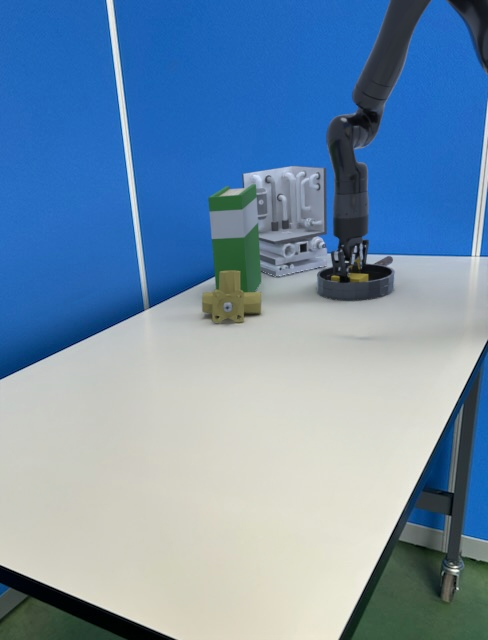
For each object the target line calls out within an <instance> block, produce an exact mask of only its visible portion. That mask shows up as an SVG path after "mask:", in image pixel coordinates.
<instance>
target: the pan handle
mask: <svg viewBox="0 0 488 640" xmlns="http://www.w3.org/2000/svg"><path fill="white" fill-rule="evenodd" d="M393 262H394V258H393V257H392V256H391V255H388V256H385V257H383V258H382V259H380V260H378V261H376V262H375V263H373V264H378V265H383V266H387V267H388V266H390V265H391V264H392V263H393Z"/></svg>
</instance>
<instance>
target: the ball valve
mask: <svg viewBox="0 0 488 640" xmlns="http://www.w3.org/2000/svg"><path fill="white" fill-rule="evenodd" d="M201 298H202V300H201V308H202V309H201V310H202V313H203V314H212V317H211V318H212V322H214V323H215V324H219V323H221V322H222V321H223V320H226V319H229V320H230V321H233V322H235V323H244V320H245V314H258V315H259V314H262V291H255V292H245V293H244V292H243V291H242V290H240V271H235V270H233V271H220V272H219V290H218V289H216V288H215V289H214V290H213V291H208V292H202V297H201ZM238 316H240V318H238Z"/></svg>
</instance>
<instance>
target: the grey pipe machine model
mask: <svg viewBox="0 0 488 640" xmlns="http://www.w3.org/2000/svg"><path fill="white" fill-rule="evenodd" d="M241 178H242V179H241V181H242V188H248V187H249V186H251V185H252V184H256V193H257V211H258V230H259V248H260V267H261V271H264V272H266V273H269V274H272V275H274V276H279V275H283V274H288V273H292V272H297V271H301V270H306V269H311V268H316V267H320V266H325V265H327V266H326V267H325V268H328V260H327V259H324V258H319V257H322V256H327V255H328V248H326V247H327V245H326V242H325V241H324V239H323V238H322V237H320V236H325V235H327V234H328V216H327V215H328V213H327V211H328V210H327V209H328V207H327V203H328V202H327V167H319V166H317V167H316V166H302V165H289V166H283V167H275V168H270V169H263V170H257V171H252V172H245V173H241ZM318 269H319V268H317V269H316V270H318ZM304 272H305V271H303V272H302V273H304ZM266 273H264V275H265V274H266ZM294 274H296V273H294ZM294 274H293V275H294ZM266 275H267V274H266ZM290 275H291V274H289V275H288V276H290ZM274 276H272V277H274ZM280 277H282V276H280ZM280 277H279V278H280ZM274 278H275V277H274Z"/></svg>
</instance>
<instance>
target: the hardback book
mask: <svg viewBox="0 0 488 640" xmlns="http://www.w3.org/2000/svg"><path fill="white" fill-rule="evenodd" d="M230 186H231V185H226V186H224V187H223V188H221V189H220V190H218V191H215V193H213V194H212V195H210V196H208V197H207V199H208V212H209V222H210V234H211V244H212V245H211V246H212V247H211V248H212V259H213V269H214V270H213V271H214V281H215V289H218V290H219V272H220V271H233V270H235V271H240V290H242V291H243V292H244V293H245V292H256V291H257V290H258V288H259V287H260V285H261V283H262V272H261V267H260V248H259V230H258V211H257V193H256V184H252V185H251V186H249V187H248V188H243V187H242V188H241V187H240V188H231V187H230ZM260 282H261V283H260ZM259 284H260V285H259ZM257 287H258V288H257ZM256 289H257V290H256ZM255 290H256V291H255Z"/></svg>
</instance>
